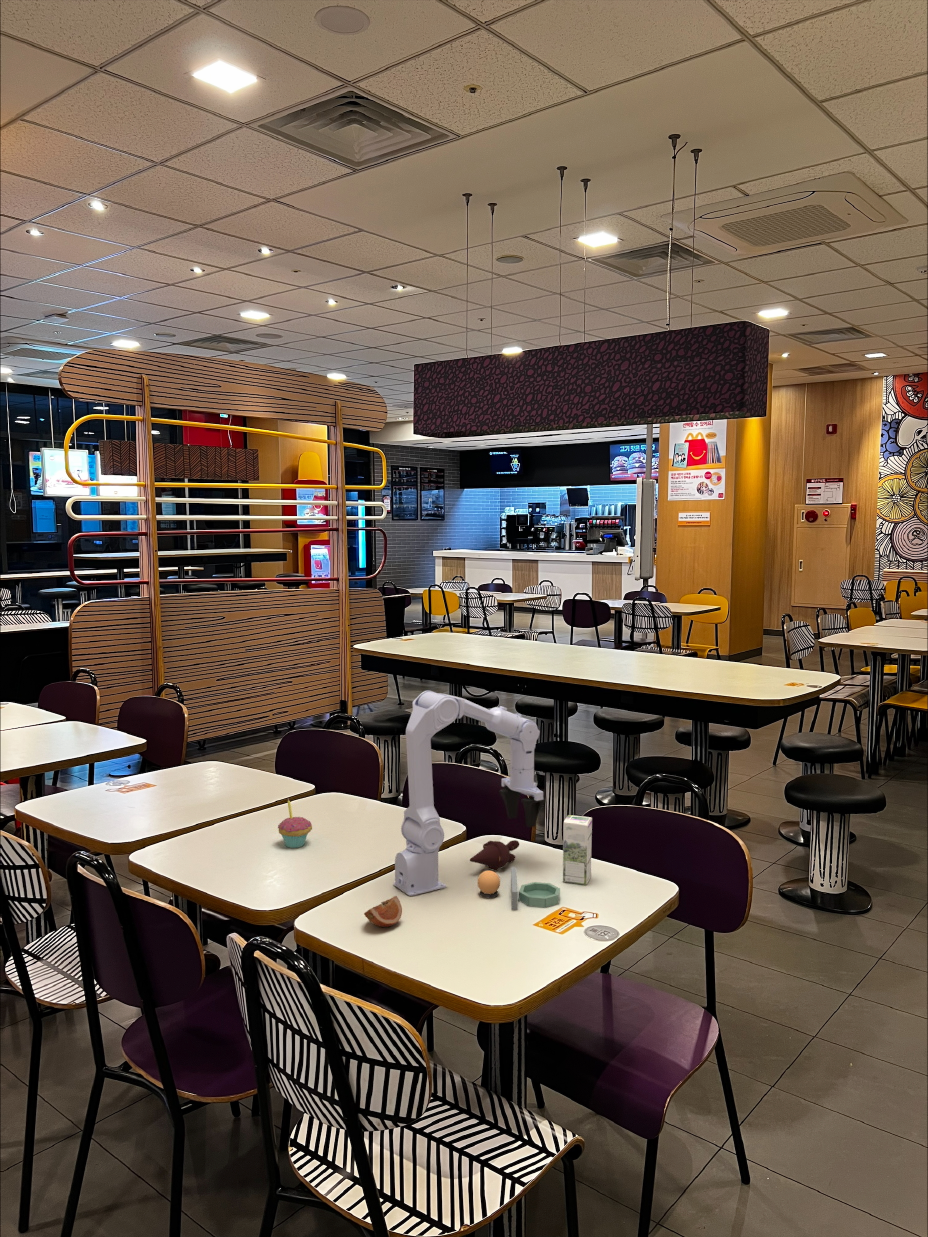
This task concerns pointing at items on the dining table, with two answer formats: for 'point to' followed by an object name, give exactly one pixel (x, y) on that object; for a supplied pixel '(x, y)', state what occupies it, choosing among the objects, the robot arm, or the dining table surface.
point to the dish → (539, 894)
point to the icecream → (496, 854)
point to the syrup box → (577, 849)
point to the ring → (488, 894)
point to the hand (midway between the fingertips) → (521, 822)
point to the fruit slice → (385, 913)
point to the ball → (488, 882)
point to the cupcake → (294, 830)
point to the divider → (514, 888)
